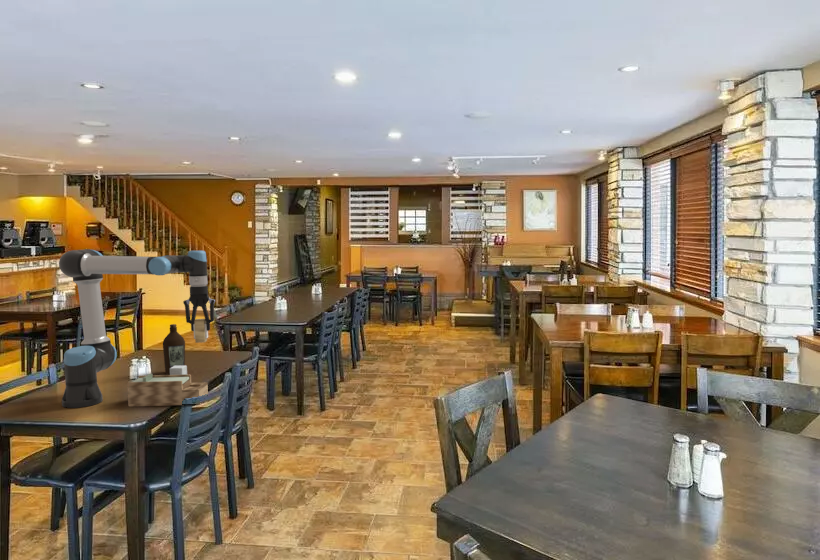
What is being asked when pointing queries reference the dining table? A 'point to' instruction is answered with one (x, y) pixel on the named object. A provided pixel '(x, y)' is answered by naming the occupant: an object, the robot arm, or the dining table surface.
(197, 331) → the beige wooden block
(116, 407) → the dining table surface
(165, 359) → the olive oil
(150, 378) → the lid
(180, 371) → the product box
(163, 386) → the toolbox
